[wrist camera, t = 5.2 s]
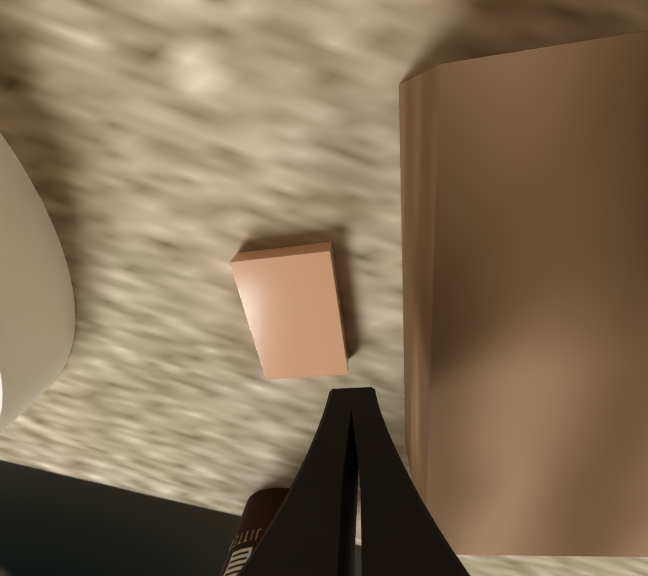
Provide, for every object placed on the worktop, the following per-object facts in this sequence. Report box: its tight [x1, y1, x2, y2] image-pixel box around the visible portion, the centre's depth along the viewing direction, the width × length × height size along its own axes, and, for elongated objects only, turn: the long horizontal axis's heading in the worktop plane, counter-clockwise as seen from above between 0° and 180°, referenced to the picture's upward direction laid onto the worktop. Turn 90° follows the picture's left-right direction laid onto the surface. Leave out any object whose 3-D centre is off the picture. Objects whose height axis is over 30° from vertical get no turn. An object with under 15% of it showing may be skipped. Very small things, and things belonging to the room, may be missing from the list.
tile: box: [230, 242, 348, 379], centre depth 16 cm, size 4×7×2 cm, turn 8°
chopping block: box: [399, 31, 648, 557], centre depth 13 cm, size 13×20×6 cm, turn 8°
